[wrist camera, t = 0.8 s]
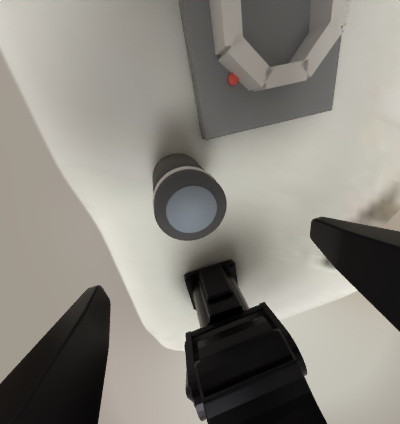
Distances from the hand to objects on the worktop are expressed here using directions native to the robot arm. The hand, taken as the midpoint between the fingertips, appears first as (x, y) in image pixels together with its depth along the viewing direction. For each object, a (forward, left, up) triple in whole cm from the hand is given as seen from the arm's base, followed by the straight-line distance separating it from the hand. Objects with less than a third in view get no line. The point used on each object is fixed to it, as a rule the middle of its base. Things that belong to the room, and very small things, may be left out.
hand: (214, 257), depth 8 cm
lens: (0, 0, -12) cm, 12 cm away
